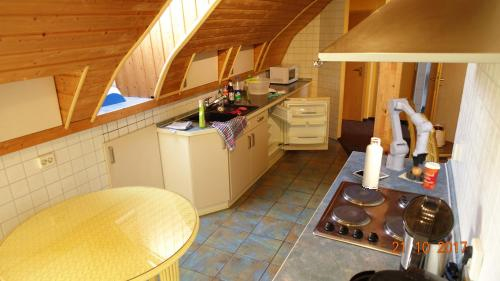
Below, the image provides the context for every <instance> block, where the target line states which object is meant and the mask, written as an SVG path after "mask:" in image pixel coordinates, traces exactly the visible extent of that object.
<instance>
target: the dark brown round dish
mask: <svg viewBox="0 0 500 281" xmlns="http://www.w3.org/2000/svg"><path fill="white" fill-rule="evenodd" d="M406 178H407V179H409V180H408V181H410V180H412V181H411V182H414V181H416V182H415V183H417V182H423V181H424V171H422V173H421V176H418V175H413V174H412V169H409V170H408V169H407V170H406ZM407 179H406V180H407Z"/></svg>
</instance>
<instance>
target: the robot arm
mask: <svg viewBox="0 0 500 281" xmlns="http://www.w3.org/2000/svg"><path fill="white" fill-rule="evenodd" d="M387 108H388V114H389V121H390V126H391V134H392V135H391V136H392V142H390V144H389V145H390V146H389V147H390V148H389V151H390V153H388V155H387V158H386V163H385V164H386V166H385V168H387V169H391V170H393V171H397V172H401V171H404V170H405V169H406V167H405V166H404V165H405V164H404V163H405V158H406V156H407V155H408V154H409V151H410V148H409V145H408V143H407V141H406V140H405V139H403V133H402V131H403V130H402V127H401V126H402V125H401V121H400V120H401V119H400V113H402V112H405V113H406V115H407V116H409V120H410V121H411V122H412V123H413V125H415V128H416V135H417V136H416V142H415V148H414V151H413V152H412V154H411V155H410V156H411V159H412V162H413V163H412V164H413V165H412V166H413V167H419V166H420V165H423V164H424V162H425V159H426V158H427V156H428V155H429V151H428V143H429V136H430V132H432V131H433V128H434V126H433V124H432V122H431V121H427V120H426V119H425V118H424V117H423V116H422V114H421V113H419V112H415V110H414V109H413V108H412V107H411V105H410V104H409V101H408V100H407V98H405V97H401V98H390V99H389V100H388V102H387Z"/></svg>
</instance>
